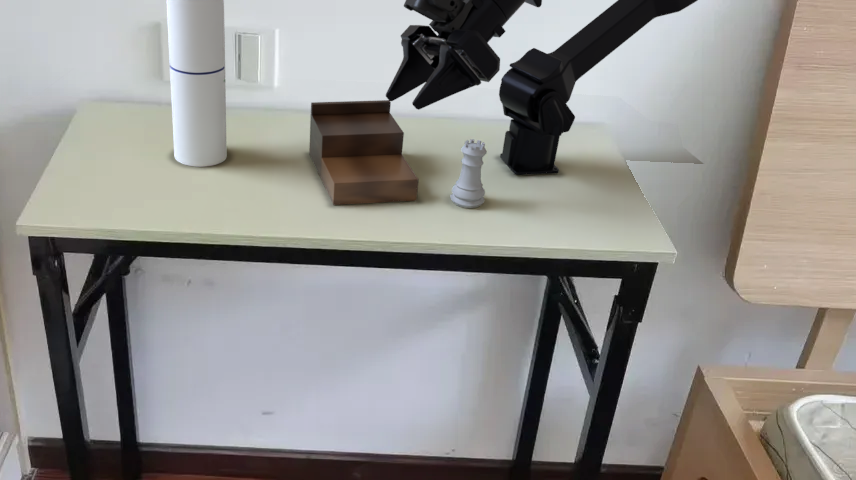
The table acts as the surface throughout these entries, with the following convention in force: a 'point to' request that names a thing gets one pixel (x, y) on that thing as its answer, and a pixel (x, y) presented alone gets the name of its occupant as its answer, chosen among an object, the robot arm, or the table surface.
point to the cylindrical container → (197, 80)
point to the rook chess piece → (470, 176)
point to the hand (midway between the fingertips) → (401, 102)
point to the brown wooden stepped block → (360, 153)
